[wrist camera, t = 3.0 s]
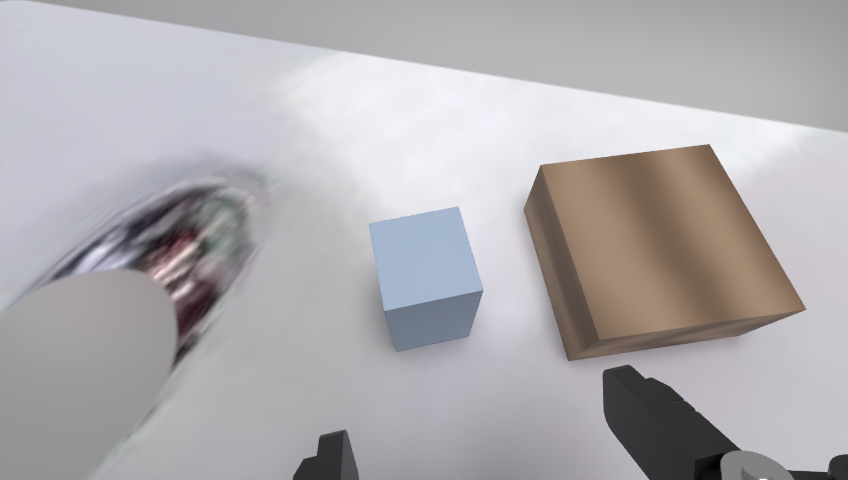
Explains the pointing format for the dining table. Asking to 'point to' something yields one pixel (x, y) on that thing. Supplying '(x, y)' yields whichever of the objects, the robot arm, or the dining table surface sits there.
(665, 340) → the walnut block
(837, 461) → the robot arm
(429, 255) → the slate blue pillar block
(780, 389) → the dining table surface
